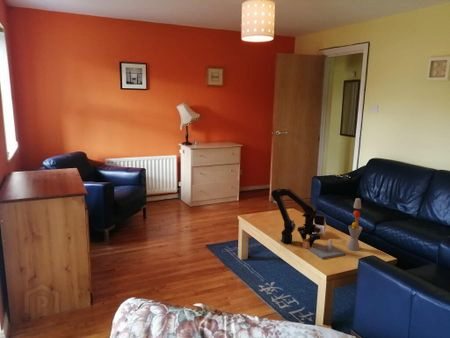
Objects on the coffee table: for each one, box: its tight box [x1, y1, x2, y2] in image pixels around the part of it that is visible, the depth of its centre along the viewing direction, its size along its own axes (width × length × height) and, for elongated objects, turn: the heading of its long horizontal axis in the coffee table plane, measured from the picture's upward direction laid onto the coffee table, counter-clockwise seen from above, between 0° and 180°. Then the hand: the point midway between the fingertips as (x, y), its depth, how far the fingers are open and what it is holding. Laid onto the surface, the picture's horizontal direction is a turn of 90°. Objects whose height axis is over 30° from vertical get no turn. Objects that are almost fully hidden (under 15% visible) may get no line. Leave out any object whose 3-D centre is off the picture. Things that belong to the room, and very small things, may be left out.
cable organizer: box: [312, 221, 327, 237], centre depth 262 cm, size 15×11×12 cm
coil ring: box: [302, 238, 314, 249], centre depth 241 cm, size 7×7×4 cm
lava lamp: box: [346, 197, 363, 252], centre depth 236 cm, size 9×9×35 cm
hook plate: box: [308, 238, 346, 260], centre depth 231 cm, size 18×14×9 cm
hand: (307, 244), depth 241 cm, fingers closed on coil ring, 7 cm apart
